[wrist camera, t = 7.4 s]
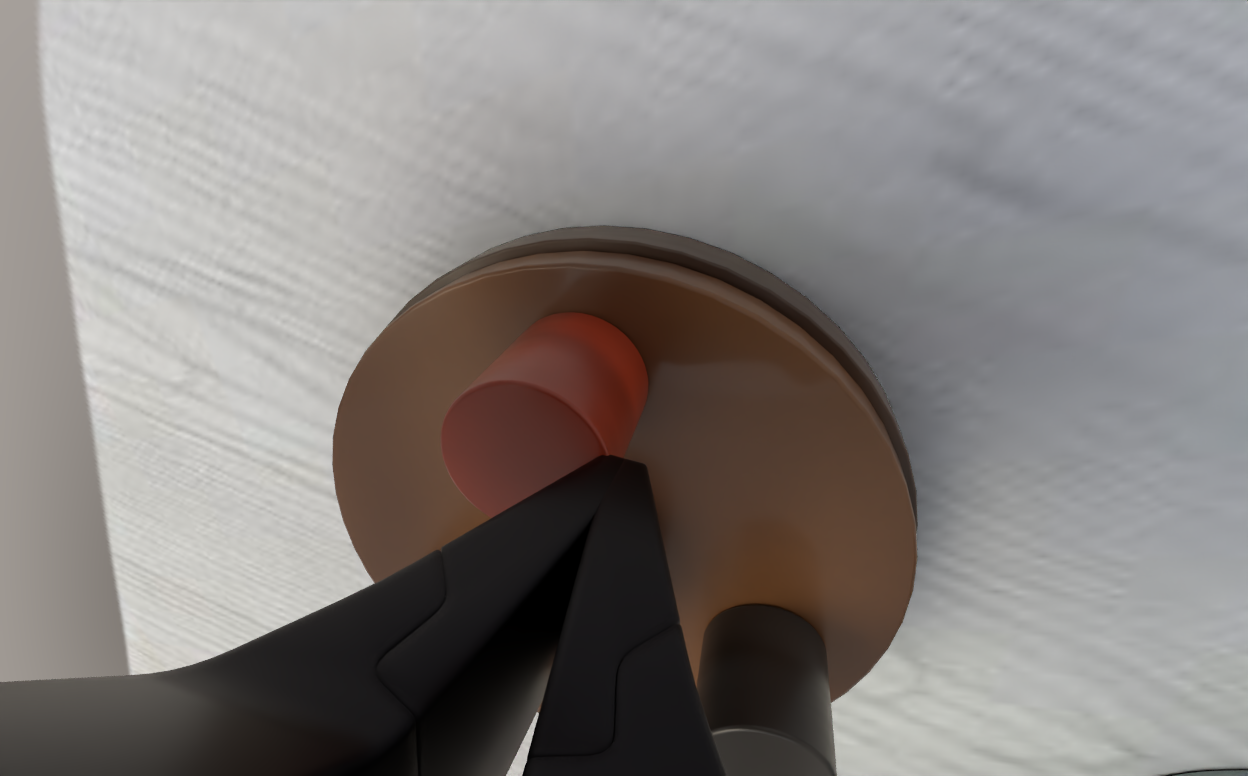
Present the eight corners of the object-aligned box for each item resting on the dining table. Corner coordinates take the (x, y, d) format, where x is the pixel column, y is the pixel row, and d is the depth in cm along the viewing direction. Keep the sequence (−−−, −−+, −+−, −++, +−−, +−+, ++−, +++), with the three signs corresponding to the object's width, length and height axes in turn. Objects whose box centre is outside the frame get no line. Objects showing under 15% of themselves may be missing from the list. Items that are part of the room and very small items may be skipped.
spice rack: (417, 667, 19) (337, 796, 16) (289, 247, 13) (111, 308, 10) (864, 749, 16) (887, 932, 13) (970, 251, 10) (1072, 342, 7)
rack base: (289, 303, 15) (254, 319, 14) (863, 138, 11) (872, 144, 10) (492, 677, 21) (477, 708, 20) (934, 675, 16) (945, 716, 15)
